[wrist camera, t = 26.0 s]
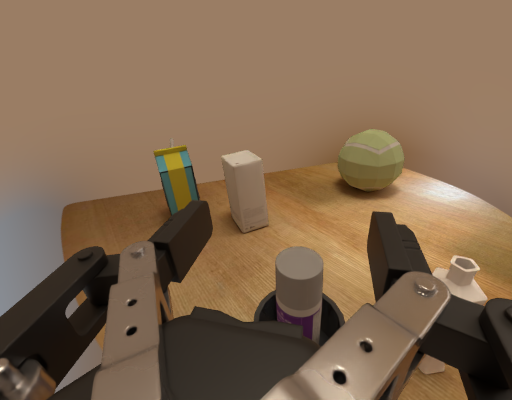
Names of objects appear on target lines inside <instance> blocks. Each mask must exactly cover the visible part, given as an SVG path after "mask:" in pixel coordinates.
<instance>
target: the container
mask: <svg viewBox="0 0 512 400" xmlns="http://www.w3.org/2000/svg"><path fill="white" fill-rule="evenodd" d="M275 263H276V306H277V321H279V322H285V323H291V324H296V325H302V326H303V336H305V337H307V338H309V339H311V340H312V341H314V342H316V343H317V344H318V345H319V337H320V323H321V310H322V287H323V260H322V258H321V256H320V255H319V254H318V253H317V252H315V251H314V250H312V249H309V248H306V247H290V248H287V249H285V250H283V251H281V252H280V253H279V254H278V256H277V258H276V262H275Z"/></svg>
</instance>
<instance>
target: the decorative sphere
mask: <svg viewBox="0 0 512 400" xmlns="http://www.w3.org/2000/svg"><path fill="white" fill-rule="evenodd" d="M403 164H404V154H403V151H402V148H401V145H400V144H399V141H397V140H396V139H394V138H393V137H392V136H390V135H389V134H388V133H386V131H380V130H374V129H370V130H367V131H365V132H362V133H360V134H357V135H354V136H352V137H351V138H350V139H348V140H347V142H346V143H345V145H344V146H343V148H342V149H341V151H340V154H339V156H338V169H339V172H340V174H341V176H342V177H343V179H344V180H345V181H346V182H347V183H348V184H349V185H350V186H353V187H355V188H358V189H361V190H364V191H368V192H369V191H374V190H380V189H383V188H385V187H386V186H388V185H390V184H391V183H392V182H393V181H394V180H395V179H396V178H397V177H398V176H399V175H400V174H401V173H402V168H403Z"/></svg>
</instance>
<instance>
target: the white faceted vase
mask: <svg viewBox="0 0 512 400" xmlns="http://www.w3.org/2000/svg"><path fill="white" fill-rule="evenodd" d="M450 263H451V266H450V269H449V270H447V269H443V268H438V267H437V268H436V269H435V270H434V272H433V274H432V275H433V276H435V277H436V278H438V279H440V280H441V281H442V282H443V283H445V284H446V286H447V287H448V288H449V290H450V292H451V294H453V295H455V296H457V297H459V298H462V299H465V300H468V301H471V302H474V303H477V304H480V305H482V306H483V305H484V303H485V302H486V300H487V297H486V295H485V294H484V293H483V291H482V290H481V288H480V287H479V286H478V284H477V283H476V281H475V280H474V279H473V278H474V276H475V274H476V272H477V271H479V270H480V268H479V267H478V265H477V264H476V263H475V262H474V260H472V259H470V258H466V257H461V256H456V255H455V256H453V258H452V259H451V261H450ZM418 368H419V369H420V370H421V371H422V372H423V373H424V374H431V373H437V372H442V371H444V370H445V368H444V362H442V361H440V360H437V359H435V358H433V357H431V356H429V355H427V354H426V356H425V357H424V359H423V360H422V362H421V363H420V365H419V366H418Z"/></svg>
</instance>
